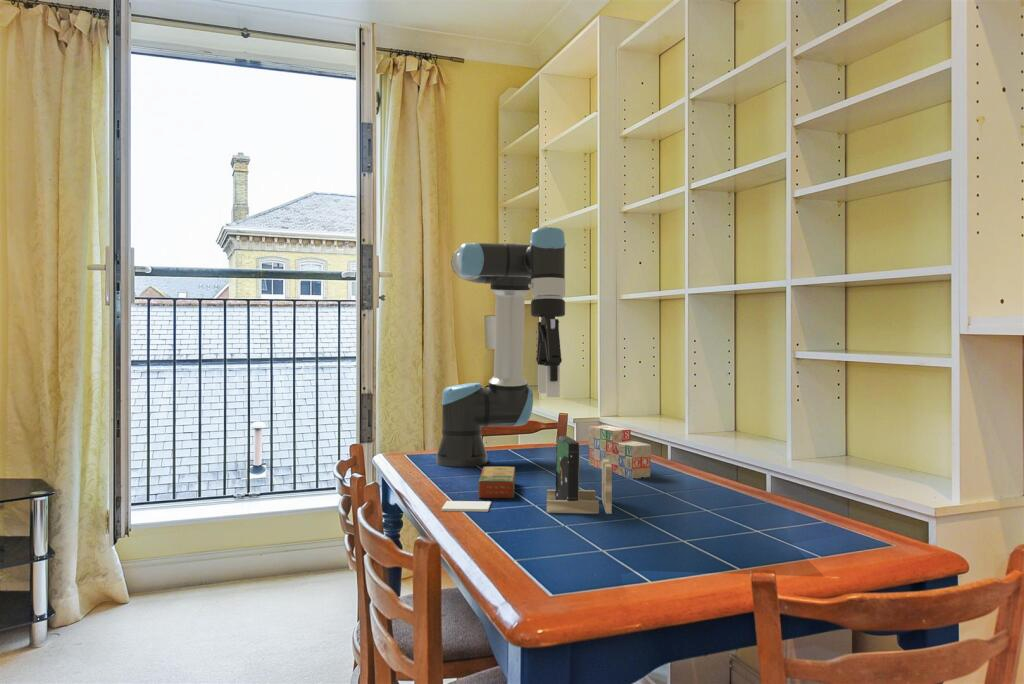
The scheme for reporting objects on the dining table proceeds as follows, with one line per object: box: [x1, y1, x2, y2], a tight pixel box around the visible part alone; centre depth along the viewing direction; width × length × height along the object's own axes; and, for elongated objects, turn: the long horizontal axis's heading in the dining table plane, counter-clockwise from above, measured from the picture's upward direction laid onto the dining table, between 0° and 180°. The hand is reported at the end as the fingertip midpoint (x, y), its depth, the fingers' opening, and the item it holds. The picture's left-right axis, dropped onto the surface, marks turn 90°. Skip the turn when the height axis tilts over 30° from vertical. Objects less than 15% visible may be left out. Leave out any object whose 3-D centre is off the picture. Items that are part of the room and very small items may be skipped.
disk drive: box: [555, 435, 581, 501], centre depth 149 cm, size 10×3×15 cm, turn 12°
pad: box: [441, 500, 492, 513], centre depth 149 cm, size 7×10×1 cm
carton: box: [477, 466, 516, 499], centre depth 164 cm, size 8×16×4 cm, turn 179°
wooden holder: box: [546, 457, 613, 515], centre depth 149 cm, size 11×14×10 cm
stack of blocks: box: [588, 424, 652, 479], centre depth 188 cm, size 21×6×12 cm, turn 25°
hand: (548, 395), depth 149 cm, fingers open, 13 cm apart
